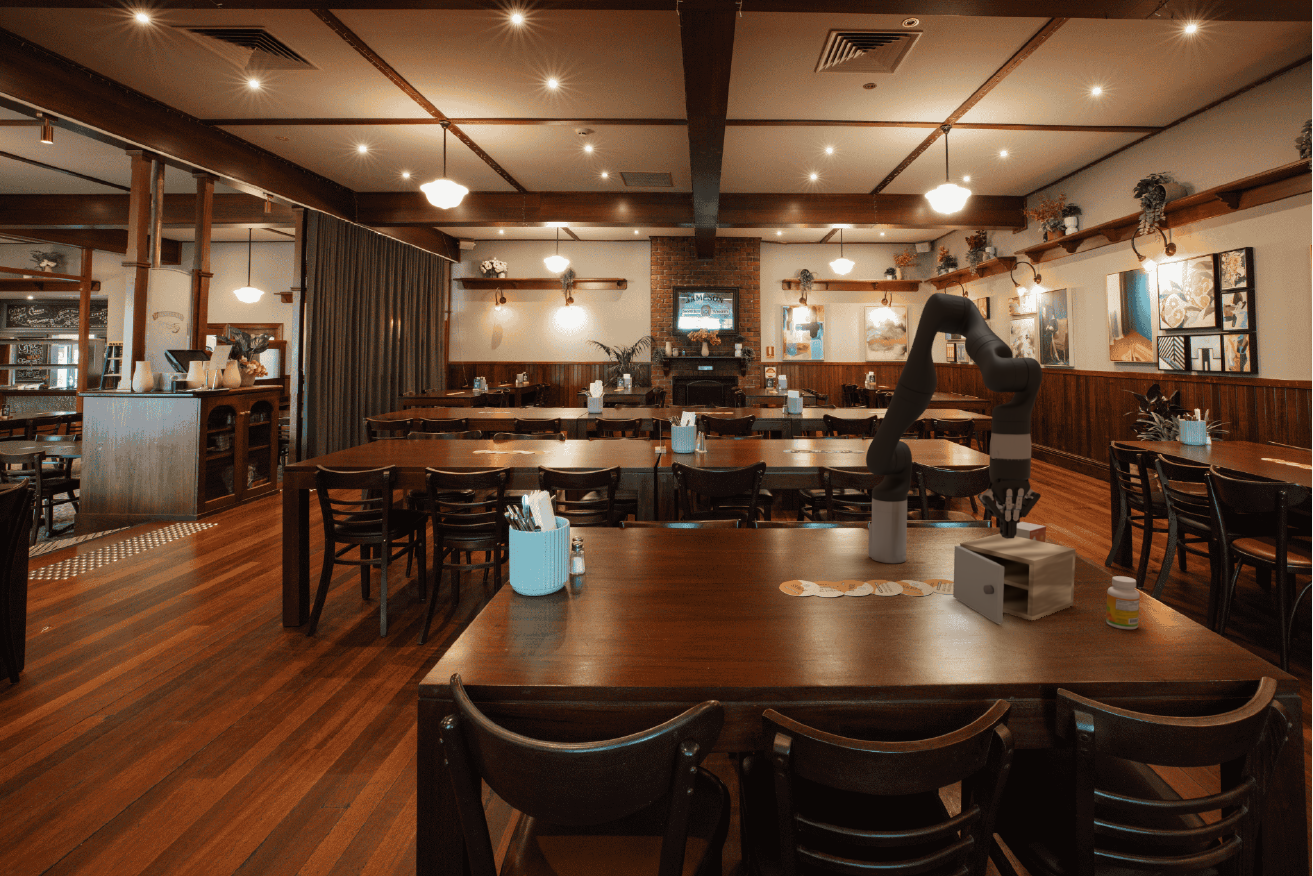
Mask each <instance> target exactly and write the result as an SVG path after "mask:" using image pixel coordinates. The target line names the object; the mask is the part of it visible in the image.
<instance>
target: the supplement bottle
mask: <svg viewBox="0 0 1313 876" xmlns="http://www.w3.org/2000/svg"><path fill="white" fill-rule="evenodd" d="M1111 585H1112V586H1110V587H1108V589H1107V592H1106V614H1105V622H1106V623H1107V624H1108V625H1109V626H1110V627H1113V628H1116V629H1120V630H1135V629H1137V628H1138V627H1139V617H1140V616H1139V613H1140V596H1141V595H1140V592H1139V591H1138V590H1136V587H1137V580H1136V579H1134V578H1133V577H1128V576H1123V575H1122V576H1121V575H1118V576H1117V575H1116V576H1112V578H1111Z"/></svg>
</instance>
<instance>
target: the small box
mask: <svg viewBox="0 0 1313 876" xmlns="http://www.w3.org/2000/svg"><path fill="white" fill-rule="evenodd" d="M1046 531H1047V526H1046V525H1040V524H1036V523H1030V522H1025V521H1020V522H1017V533H1016V535H1015V536H1017V537H1021V538H1026V539H1031V540H1036V541H1041V542H1045V543H1046V535H1047V532H1046Z"/></svg>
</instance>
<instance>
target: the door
mask: <svg viewBox="0 0 1313 876" xmlns="http://www.w3.org/2000/svg"><path fill="white" fill-rule="evenodd" d="M953 556H954V557H953V562H954V563H953V589H952V590H953V591H952V597H953V598H954V599H956V600H958V601H960V602H961V603H963V604H964V605H966V606H968V607H969V608H971V609H972V610H974V611H976V612H978V613H979V614H981V615H982V616H984V617H985V618H987V619H989V620H990V621H992V622H993V623H995V624H997V625H998V624H1003V617H1004V616H1003V614H1004V612H1003V590H1004V566H1002V565H1000V564H998V563H995V562H993V561H991V560H989V559H987V558H985V557H983V556H980V555H978V554H976V553H974V552H972V551H970V550H968V549H966V548H963V547H961V546H960V545H954V555H953Z"/></svg>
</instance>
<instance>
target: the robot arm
mask: <svg viewBox="0 0 1313 876" xmlns="http://www.w3.org/2000/svg"><path fill="white" fill-rule="evenodd" d="M937 333H940V334H941V333H942V334H949V335H958V336H961V337H963V338H965V342H964V348H965V351H966V354H967V356H968V357H969V359H971V361H973V363H974V364H975V365H976V366H977V367H978V368H979V371H980V374H981V376H982V381H983V385H984V386H985V387H986V389H989V390H990V391H992V392H994V393H1014V394H1013V397H1012V398H1011V400H1010V401H1009V402H1006V403H1002V404H998V405H996V406H994V407H993V408H992V413H991V437H990V442H989V466H988V467H989V468H988V471H989V472H988V474H989V479H990V481H989V483H988V486H987V490H986V491H984V492H983V493H981V492H980V493H978V495H977V499H978V500H979V501H980V503H981V504H982V506H983V507H984V508H985V510H986V511H987V512H988V513H989V515H990V516H991V517H993V518H996V519H999V534H1001V535H1002V537H1004V538H1006V539H1010V538H1014V537H1015V535H1016V533H1017V523H1018V520H1020V519H1021V518H1027V516H1028V515H1029V513H1030V512H1031V511H1032V510H1033V508H1034V507H1035V505H1036V504H1037V503H1038V501H1039V500H1040V498H1041V497H1042V496H1041V495H1042V494H1041V493H1040V492H1036V491H1034V490H1033V489H1031V483H1030V481H1029V480H1030V478H1031V475H1032V474H1031V470H1032V438H1031V428H1032V427H1031V424H1032V423H1031V421H1032V412H1033V409H1034V406H1035V403H1036V399H1037V396H1038V393H1039V392H1040V391H1039V390H1040V388H1041V385H1042V381H1043V369H1042V366H1041V364H1040V362H1039V361H1038V360H1037V359H1036V358H1033V357H1028V356H1027V357H1023V356H1022V357H1014V353H1013V351H1012V349H1011V347H1010V345H1008V344H1007V343H1006V342H1005V341H1004V340H1003V339H1002V338H1001V337H999V335H997V334H996V333H995V332H994V331H993V329H991V328H990V326H989V324H988V323H987V321H986V320H985V318H984V317H983V315H982V313H981V311H980V310H979V307H977V305H976V304H975V302H974V301H973V300H972V299H970V298H969V297H967V296H966V297H965V296H962V295H955V294H949V293H942V292H934V293H933V294H931V295H930V297H929V298H928V299H927V301H926V302H925V304H924V306H923V309H922V311H921V315H920V318H919V321H918V325H917V328H916V331H915V336H914V339H913V342H912V345H911V348H910V351H909V354H908V357H907V359H906V362H905V363H904V366H903V368H902V372H901V373H900V376H899V379H898V381H897V383H896V385H895V388H894V391H893V393H892V397H891V400H890V403H889V404H888V407H887V409H886V412H885V414H884V417H883V419H882V421H881V423H880V425H879V427H878V429H877V431H876V433H875V435H874V437H873V438H872V440H871V442H870V444H869V446H868V449H867V452H866V455H865V456H866V458H865V462H866V468H867V469H868V471H869V472H870V473H871V474H873V475H875V476H884V477H883V479H882V480H881V481H880V482H879V483H878V484H877V485H875V486H874V487H873V489H872V491H871V523H869V524H868V547H867V548H868V551H867V552H868V553H867V554H868V556H869V558H870V559H872V560H873V561H876V562H879V563H884V564H902V563H905V562H906V561H907V536H908V535H907V534H908V533H907V530H908V525H907V524H908V494H909V492H910V490H911V489H910V488H911V484H912V483H911V481H912V471H913V470H912V469H913V455H912V451H911V448H910V447H909V445H908V444H907V443H906V442H905V441H902V440H901V439H902V436H903V434H905V432H906V431H907V430H908V429H909V428H910V427H911V426H912V425H913V424H914V423H915V422H916V421H917V420H919V418H920V417H921V416H922V415H923V414H924V412H925V411H926V410H927V409H928V407H929V405H930V403H931V400H932V398H933V396H934V394H935V391H936V389H937V385H938V377H937V371H936V367H935V365H934V359H933V352H932V351H933V346H934V345H933V344H934V341H935V338H936V336H937ZM994 500H995V501H996V503H995V502H994Z"/></svg>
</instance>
